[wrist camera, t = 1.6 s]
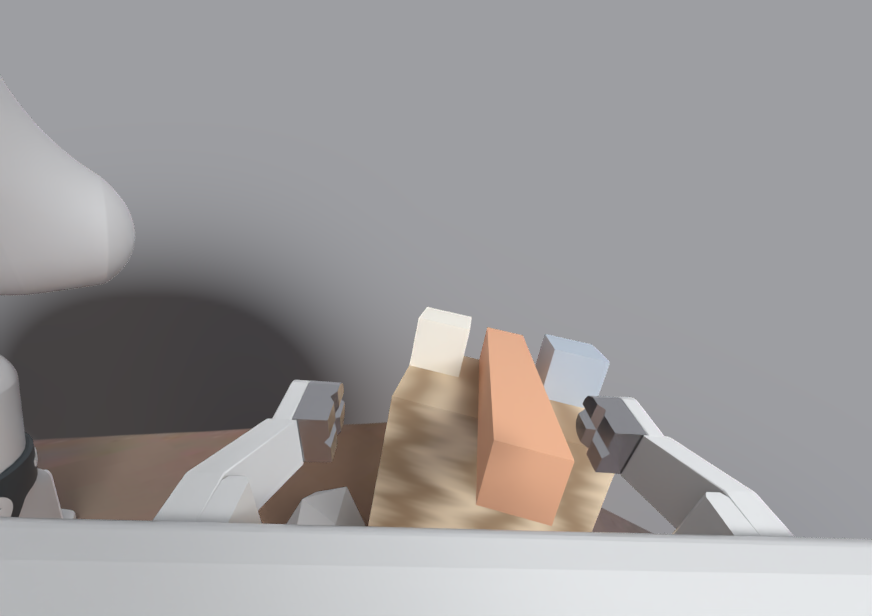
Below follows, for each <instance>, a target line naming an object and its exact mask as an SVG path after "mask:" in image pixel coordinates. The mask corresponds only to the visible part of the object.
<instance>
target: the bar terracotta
mask: <svg viewBox="0 0 872 616" xmlns="http://www.w3.org/2000/svg"><path fill="white" fill-rule="evenodd" d="M574 462H575V461H574V458H573V456H572V454H571V451H570V449H569V446H568V444H567V442H566V439H565V437H564V434H563V432H562V429H561V427H560V425H559V422H558V420H557V417H556V415H555V412H554V410H553V408H552V405H551V403H550V400H549V398H548V395H547V393H546V391H545V388H544V386H543V383H542V381H541V379H540V376H539V374H538V371H537V369H536V366H535V364H534V362H533V359H532V357H531V354H530V352H529V349H528V347H527V345H526V342H525V340H524V337H523V335H519V334H514V333H510V332H506V331H501V330H497V329H492V328H487V331H486V335H485V339H484V343H483V347H482V351H481V355H480V359H479V394H478V437H477V481H476V505H478V506H482V507H485V508H489V509H492V510H496V511H500V512H503V513H507V514H510V515H514V516H517V517H521V518H524V519H528V520H532V521H535V522H539V523H542V524H546V525H549V526H552V524H553V521H554V518H555V516H556V513H557V510H558V507H559V504H560V501H561V499H562V496H563V493H564V490H565V487H566V484H567V482H568V479H569V476H570V473H571V470H572V467H573V465H574Z"/></svg>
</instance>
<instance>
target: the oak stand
mask: <svg viewBox="0 0 872 616" xmlns="http://www.w3.org/2000/svg"><path fill="white" fill-rule="evenodd" d="M478 394H479V360H478V359H474V358H470V357H465V356H464V357H463V361H462V366H461V370H460V374H459V377H455V376H451V375H447V374H443V373H439V372H435V371H431V370H427V369H423V368H419V367H415V366H411V365H409V367H408V369H407V371H406V372H405V374H404V376H403V378H402V380H401V381H400V383H399V385H398V387H397V389H396V390H395V392H394V394H393V396H392V400H391V405H390V410H389V416H388V421H387V427H386V432H385V437H384V443H383V448H382V454H381V459H380V464H379V470H378V475H377V481H376V486H375V491H374V497H373V502H372V508H371V513H370V518H369V524H368V526H373V527H412V528H451V529H489V530H529V531H569V532H592V530H593V527H594V525H595V522H596V519H597V517H598V514H599V512H600V509H601V507H602V504H603V502H604V499H605V496H606V494H607V491H608V489H609V486H610V484H611V481H612V478H613V476H614V473H600V472H595V471H594V469H593V467H592V465H591V463H590V461H589V459H588V457H587V455H586V452H587V449H588V448H587V447H586V446H585V445H584V444H582V443H581V442H580V440H579V438H578V436H577V432H576V419H577V416H578V413H580V412H581V411H583V410H584V409H585V408H581V407H577V406H573V405H569V404H565V403H561V402H557V401H553V400H550V403H551V405H552V408H553V410H554V412H555V415H556V417H557V420H558V422H559V425H560V427H561V429H562V432H563V434H564V437H565V439H566V442H567V444H568V446H569V449H570V451H571V454H572V456H573V458H574V461H575V462H574V465H573V467H572V470H571V473H570V476H569V479H568V482H567V484H566V487H565V490H564V493H563V496H562V499H561V501H560V504H559V507H558V510H557V513H556V516H555V518H554V521H553V524H552V526H549V525H546V524H542V523H539V522H535V521H532V520H528V519H524V518H521V517H517V516H514V515H510V514H507V513H503V512H500V511H496V510H492V509H489V508H485V507H482V506H478V505H476V481H477V437H478Z"/></svg>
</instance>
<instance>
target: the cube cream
mask: <svg viewBox="0 0 872 616" xmlns="http://www.w3.org/2000/svg"><path fill="white" fill-rule="evenodd" d="M470 325H471V317H469V316H465V315H461V314H456V313H452V312H447V311H443V310H439V309H434V308H430V307H427V308H426V309H425V311H424V312H423V313H422V314H421V316H420V317H419V319H418V325H417V330H416V335H415V340H414V346H413V351H412V355H411V361H410V365H411V366H415V367H419V368H423V369H427V370H431V371H435V372H439V373H443V374H447V375H451V376H455V377H459V374H460V370H461V366H462V361H463V357H464V352H465V348H466V344H467V340H468V336H469V331H470Z"/></svg>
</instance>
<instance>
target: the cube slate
mask: <svg viewBox="0 0 872 616" xmlns="http://www.w3.org/2000/svg"><path fill="white" fill-rule="evenodd" d="M609 364H610V362H609V361H608V360H607V359H606V358H605V357H604V356H603V355H602V354H601V353H600V352H599V351H598V350H597V349H596V348H595V347H594V346H593V345H592V344H587V343H583V342H579V341H574V340H570V339H565V338H561V337H557V336H552V335H547V334H545V335H544V338H543V342H542V346H541V349H540V352H539V355H538V359H537V363H536V365H535V366H536V369H537V371H538V374H539V376H540V379H541V381H542V383H543V386H544V388H545V391H546V393H547V395H548V398H549V400H553V401H557V402H561V403H565V404H569V405H573V406H577V407H581V408H584V406H583V402H584V399H585V398H586V397H587V396H598V395H599V392H600V389H601V387H602V384H603V381H604V378H605V375H606V373H607V370H608V367H609Z"/></svg>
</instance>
